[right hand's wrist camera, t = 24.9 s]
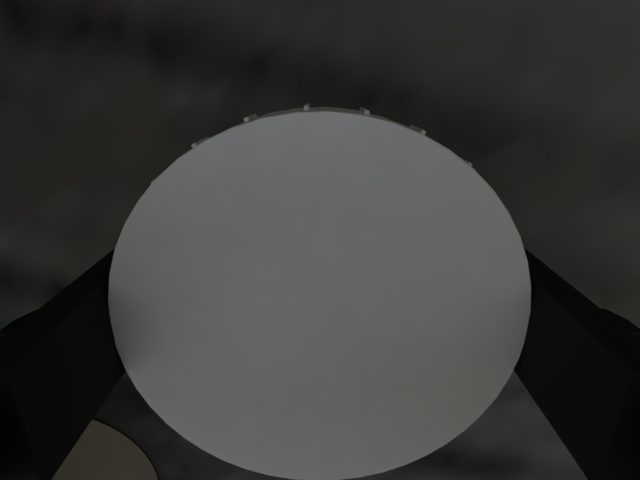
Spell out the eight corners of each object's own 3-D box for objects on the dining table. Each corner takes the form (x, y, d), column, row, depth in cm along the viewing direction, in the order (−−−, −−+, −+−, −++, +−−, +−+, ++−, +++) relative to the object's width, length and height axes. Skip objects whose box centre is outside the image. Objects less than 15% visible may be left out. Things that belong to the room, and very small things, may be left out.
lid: (373, 5, 9) (385, -12, 8) (565, 331, 12) (603, 369, 11) (56, 256, 11) (11, 285, 10) (286, 480, 15) (281, 531, 13)
